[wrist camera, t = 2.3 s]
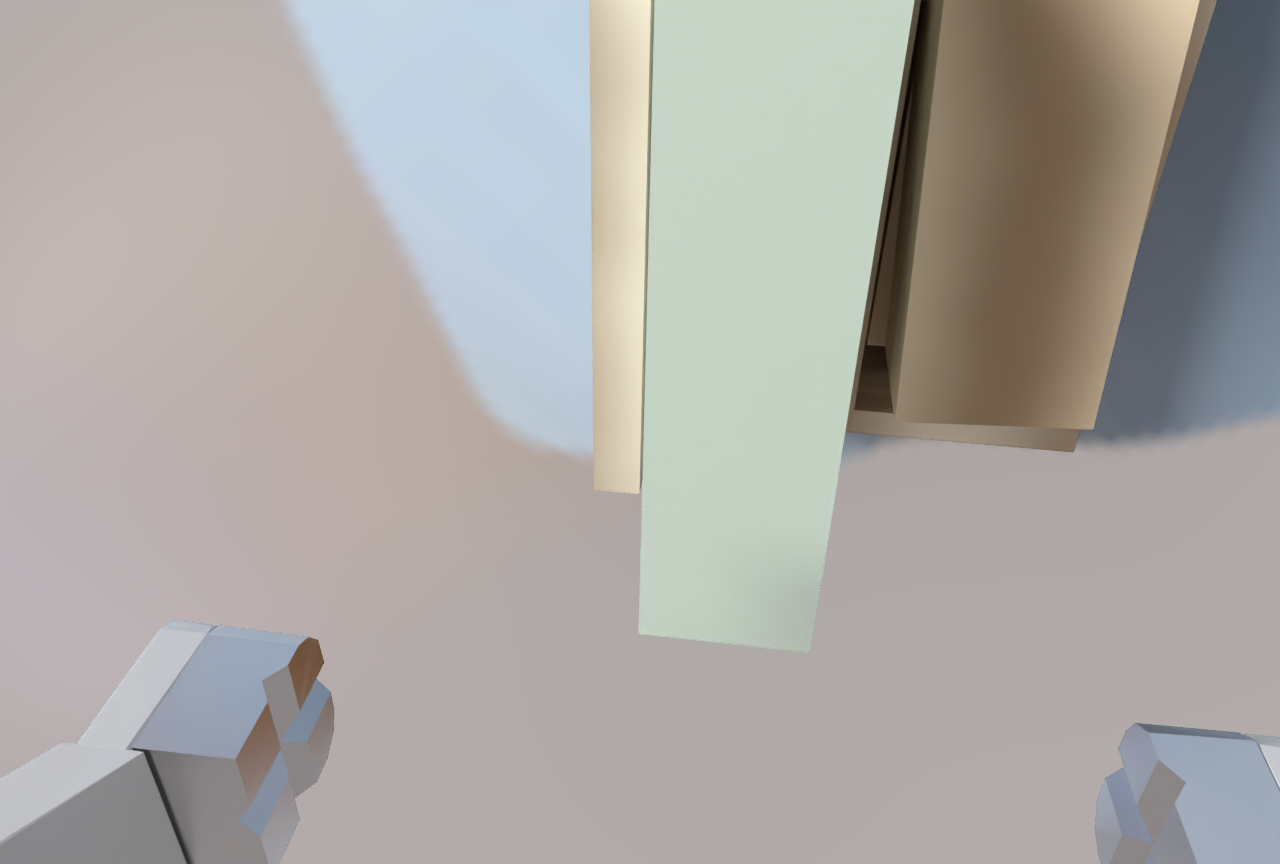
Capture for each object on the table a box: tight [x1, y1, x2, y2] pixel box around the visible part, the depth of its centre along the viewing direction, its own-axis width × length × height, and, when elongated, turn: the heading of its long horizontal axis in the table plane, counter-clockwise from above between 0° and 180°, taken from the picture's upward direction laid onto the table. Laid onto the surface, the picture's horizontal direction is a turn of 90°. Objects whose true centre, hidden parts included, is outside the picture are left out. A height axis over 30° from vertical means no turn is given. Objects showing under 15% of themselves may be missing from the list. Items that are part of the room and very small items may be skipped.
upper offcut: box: [885, 0, 1200, 430], centre depth 25 cm, size 5×13×4 cm, turn 2°
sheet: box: [639, 0, 914, 653], centre depth 23 cm, size 4×14×16 cm, turn 178°
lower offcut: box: [866, 0, 922, 346], centre depth 28 cm, size 5×13×4 cm, turn 178°
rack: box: [590, 0, 1217, 494], centre depth 25 cm, size 13×18×10 cm
